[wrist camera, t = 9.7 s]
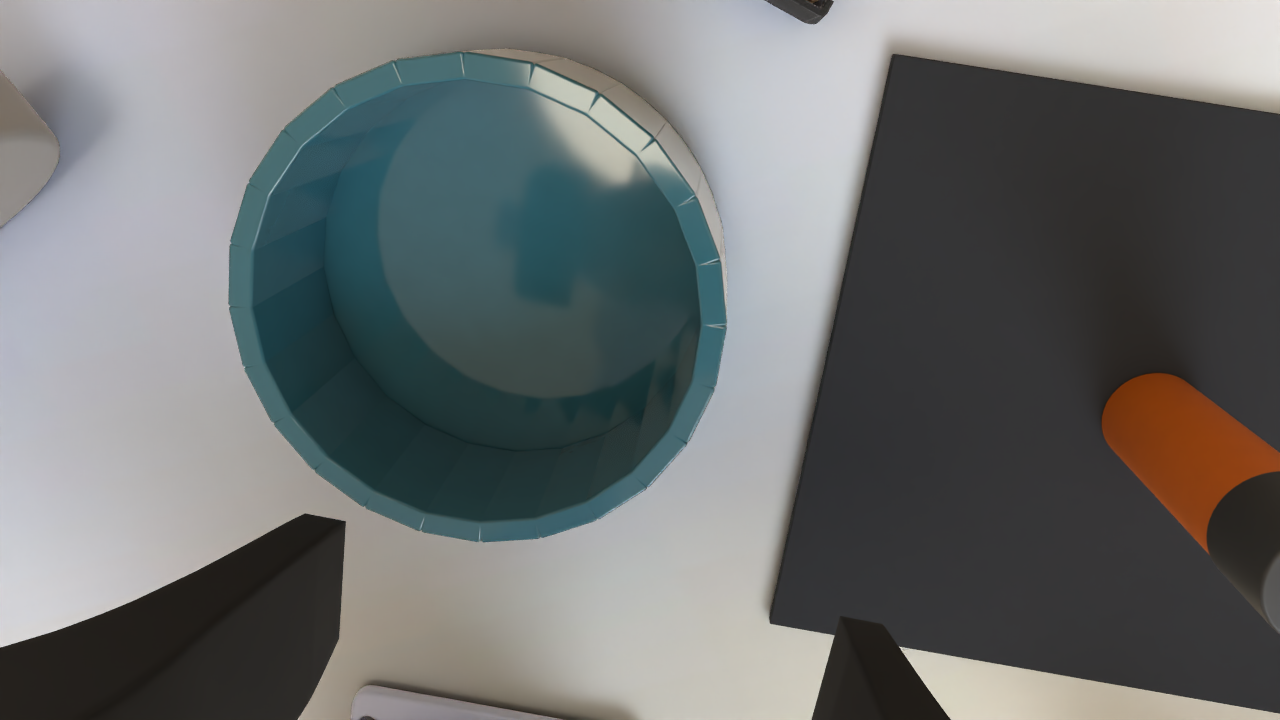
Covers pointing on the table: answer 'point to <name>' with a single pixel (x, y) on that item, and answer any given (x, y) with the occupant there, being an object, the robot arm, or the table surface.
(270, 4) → the table surface
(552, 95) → the teal round dish
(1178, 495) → the glue stick
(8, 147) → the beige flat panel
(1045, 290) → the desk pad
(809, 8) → the ammunition clip
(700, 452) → the table surface
